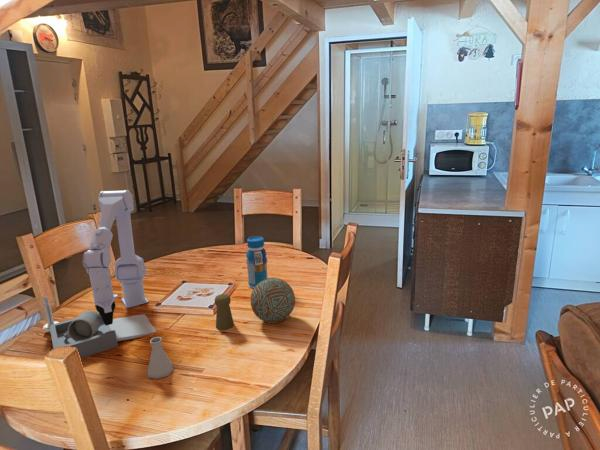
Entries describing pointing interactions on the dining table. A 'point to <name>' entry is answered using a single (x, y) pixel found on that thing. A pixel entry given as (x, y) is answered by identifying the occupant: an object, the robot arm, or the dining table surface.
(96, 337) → the dock
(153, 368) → the flask
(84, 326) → the ceramic mug
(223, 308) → the olive pawn
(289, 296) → the decorative sphere
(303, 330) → the dining table surface
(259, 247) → the beverage bottle
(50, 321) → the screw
